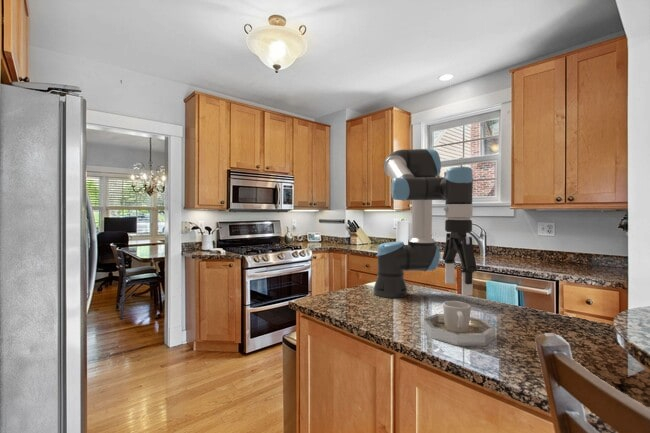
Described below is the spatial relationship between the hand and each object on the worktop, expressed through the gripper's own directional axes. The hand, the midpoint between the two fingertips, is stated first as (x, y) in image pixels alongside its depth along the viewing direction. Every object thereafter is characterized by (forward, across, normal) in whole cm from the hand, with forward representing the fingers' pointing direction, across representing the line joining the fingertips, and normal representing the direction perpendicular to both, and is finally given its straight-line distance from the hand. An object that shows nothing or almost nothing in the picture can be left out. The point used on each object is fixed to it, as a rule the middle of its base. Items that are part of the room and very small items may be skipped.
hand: (457, 289), depth 98 cm
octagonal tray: (+13, +1, 0) cm, 13 cm away
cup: (+13, +1, 0) cm, 13 cm away
